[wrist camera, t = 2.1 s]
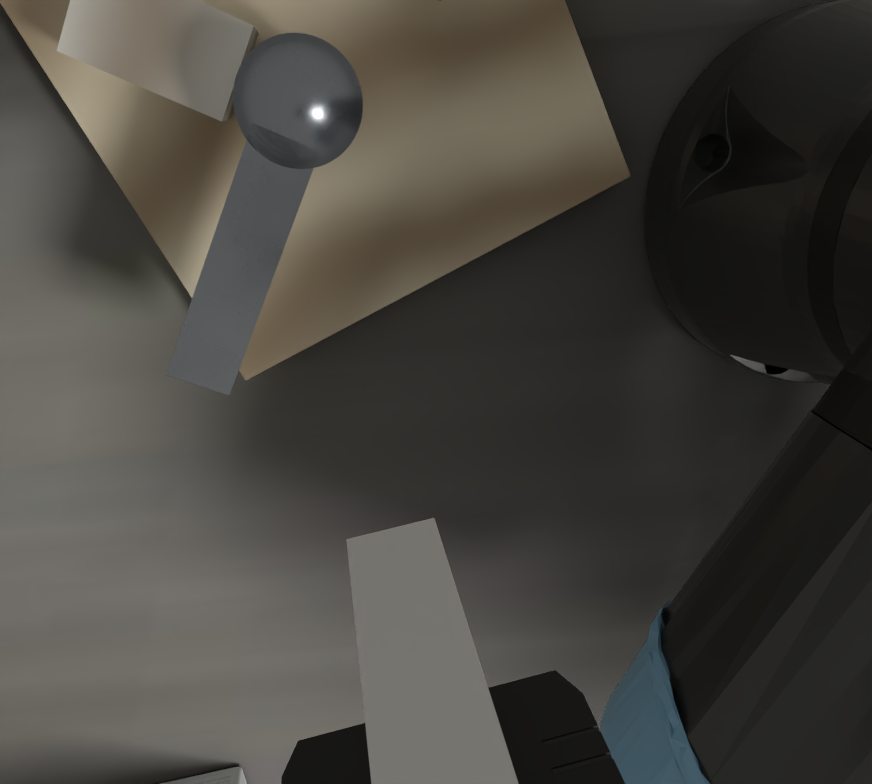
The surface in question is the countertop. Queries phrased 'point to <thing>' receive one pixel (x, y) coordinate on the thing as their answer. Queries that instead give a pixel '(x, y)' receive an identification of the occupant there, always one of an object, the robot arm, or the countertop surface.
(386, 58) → the lock plate
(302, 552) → the countertop surface
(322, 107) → the swing bar
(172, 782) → the supplement box
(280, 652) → the countertop surface
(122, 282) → the countertop surface
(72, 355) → the countertop surface
